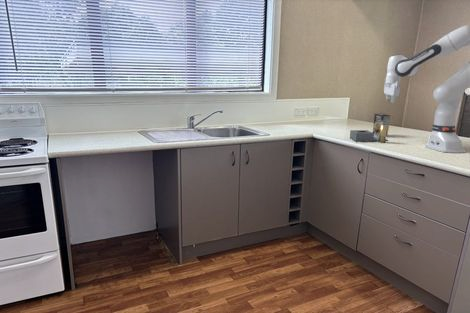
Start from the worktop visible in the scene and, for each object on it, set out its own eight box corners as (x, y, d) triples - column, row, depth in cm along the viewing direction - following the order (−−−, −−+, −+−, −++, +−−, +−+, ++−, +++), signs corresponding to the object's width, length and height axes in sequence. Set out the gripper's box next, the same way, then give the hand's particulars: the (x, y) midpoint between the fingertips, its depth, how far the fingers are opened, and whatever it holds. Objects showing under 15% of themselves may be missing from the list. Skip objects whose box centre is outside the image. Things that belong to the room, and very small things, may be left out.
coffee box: (372, 135, 254) (374, 113, 250) (378, 134, 256) (381, 113, 252) (381, 137, 245) (383, 115, 242) (387, 136, 248) (390, 114, 244)
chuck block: (373, 141, 229) (374, 133, 228) (355, 141, 229) (356, 133, 227) (366, 138, 241) (367, 130, 239) (349, 138, 241) (350, 130, 239)
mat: (387, 140, 232) (387, 139, 232) (373, 141, 232) (373, 139, 232) (379, 137, 244) (380, 136, 244) (366, 137, 244) (366, 136, 243)
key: (386, 143, 225) (388, 125, 222) (380, 143, 225) (382, 125, 222) (383, 141, 229) (385, 124, 226) (377, 141, 229) (379, 124, 226)
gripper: (403, 81, 209) (400, 103, 213) (393, 80, 229) (390, 100, 232) (392, 81, 210) (389, 103, 214) (383, 80, 230) (380, 100, 233)
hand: (390, 102), depth 223 cm, fingers open, 8 cm apart
